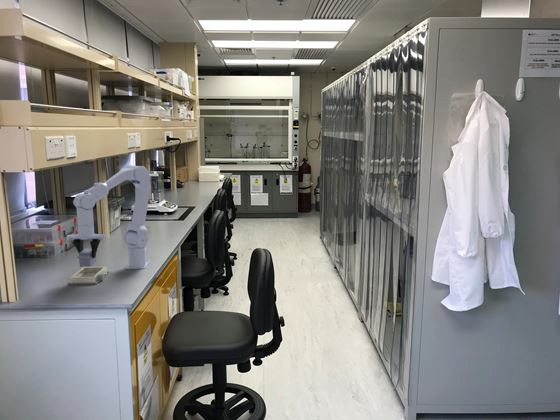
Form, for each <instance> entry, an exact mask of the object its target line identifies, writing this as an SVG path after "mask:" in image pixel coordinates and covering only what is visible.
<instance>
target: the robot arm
mask: <svg viewBox="0 0 560 420" xmlns="http://www.w3.org/2000/svg"><path fill="white" fill-rule="evenodd" d="M125 181H129V182H131V183H132V184H133V185H134V186H135V188H136V193H135V199H134V207H133V213H132V216H131V223H130V224H129V226H127V229H126V232H125V234H124V236H123V240H124V241H123V242H125V243H126V246H127V256H128V265H127V266H126V267H125V269H126V270H127V269H128V270H135V269H137V270H139V269H141V270H142V269H144V270H145V269H146V268H147V266H148V265H149V264H150V261H148V256H147V255H148V254H147V253H148V251H147V248H146V247H147V244H148V242H149V236H148V233H149V231H148V229H147V228H146V225H145V223H146V219H147V212H148V207H149V206H148V205H149V198H150V193H151V188H152V185H151V181H150V171H148V168H146V167H145V166H143V165H131V164H128V165H126V166H125V167H123V168H121V169H120V170H119V171H118V172H117V173H115V174H113V175H112V176H111V177H110V178H108V179H107V180H106V181H104V182H94V183H93V186H92V187H90V188H88V189H85V190H83V193H77V195H75V198H74V199H73V201H72V203H73V204H72V205H74V207H75V208H76V218H77V233H76V234H68V235H66V241H73V242H72V244H73V246H74V247H75V249H76V251H77V253H78V254H79V253H80V252H81V251H82V250H84V241H90V242H89V244H90V248H91V249H92V258H95V257H96V258H97V252H98V248H99V245H100V243H101V241H106V240H107V234H106V233H105V234H102V233H101V234H100V233H95V225H94V223H95V222H94V210H93V208H95V205H96V203H97V202H99V201H100V200H101V199H103V198H105V197H106V196H107V195H109V192H110V190H112V188H115V187H116V186H118V185H120V184H121V183H122V182H125Z"/></svg>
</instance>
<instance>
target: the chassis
mask: <svg viewBox="0 0 560 420" xmlns="http://www.w3.org/2000/svg"><path fill="white" fill-rule="evenodd" d="M109 274H110V270H108V266H90V267H80V269H79V270H78V271H76V272H75V273H74V274H72V275H71V276H70V277H69V282H67V285H68V286H69V285H70V286H71V285H72V286H73V285H78V286H79V285H98V284H99V283H101V281H102V280H104V278H105V277H106V276H108V275H109Z"/></svg>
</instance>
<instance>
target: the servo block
mask: <svg viewBox="0 0 560 420" xmlns="http://www.w3.org/2000/svg"><path fill="white" fill-rule="evenodd" d="M77 259H79V267H80V268H83V267H93V265H94V264H95V263H97V256H96V257H95V258H92V249H91V247H90V248H88V247H87V248H83V250H82V251H81V252H80V253H78V255H77Z"/></svg>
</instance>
